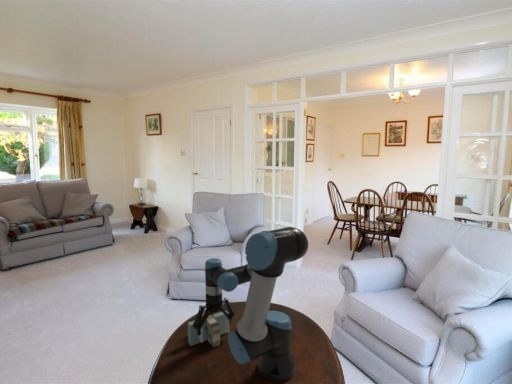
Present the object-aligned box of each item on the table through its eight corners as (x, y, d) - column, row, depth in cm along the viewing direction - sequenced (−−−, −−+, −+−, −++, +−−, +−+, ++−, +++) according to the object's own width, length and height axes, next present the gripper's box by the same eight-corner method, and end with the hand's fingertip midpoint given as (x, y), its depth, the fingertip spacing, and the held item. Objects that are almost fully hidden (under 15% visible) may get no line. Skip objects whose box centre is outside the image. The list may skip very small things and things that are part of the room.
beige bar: (220, 344, 140) (219, 324, 139) (213, 347, 138) (213, 326, 137) (205, 328, 153) (205, 309, 152) (199, 330, 151) (198, 311, 150)
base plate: (225, 329, 152) (225, 310, 151) (228, 332, 150) (228, 313, 149) (188, 342, 141) (187, 322, 140) (190, 346, 139) (190, 325, 138)
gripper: (233, 283, 148) (233, 324, 150) (184, 296, 134) (185, 341, 136) (241, 288, 142) (241, 331, 144) (191, 303, 128) (192, 349, 130)
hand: (214, 336), depth 140 cm, fingers open, 13 cm apart
